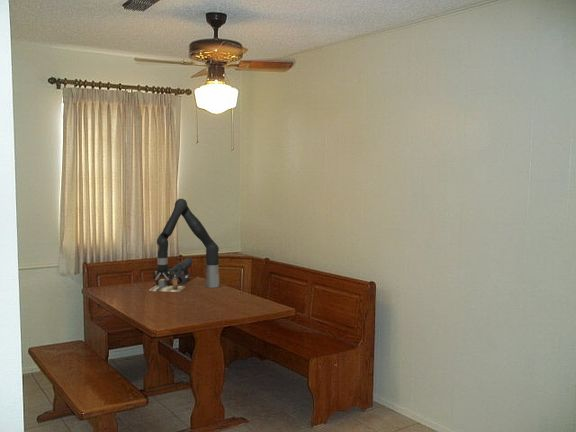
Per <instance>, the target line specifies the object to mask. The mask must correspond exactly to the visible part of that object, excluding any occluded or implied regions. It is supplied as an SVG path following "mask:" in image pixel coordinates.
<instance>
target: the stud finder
mask: <svg viewBox="0 0 576 432" xmlns="http://www.w3.org/2000/svg"><path fill="white" fill-rule="evenodd" d="M158 285H159V287H161V288H164V287H166V286H168V285H167V278H160V279H158Z"/></svg>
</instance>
